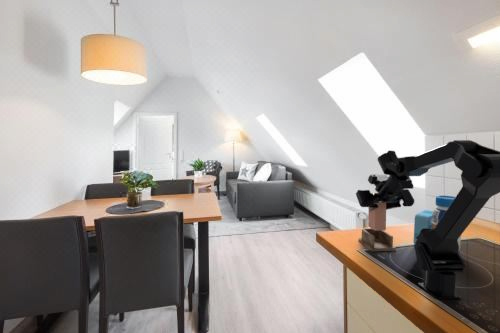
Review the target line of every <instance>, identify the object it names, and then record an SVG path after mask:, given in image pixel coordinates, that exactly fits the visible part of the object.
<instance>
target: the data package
mask: <svg viewBox="0 0 500 333" xmlns="http://www.w3.org/2000/svg"><path fill="white" fill-rule="evenodd" d="M433 212H434V210H433V211H432V210H427V209H426V210H423V211H420V212H418V213H416V214H415V215H414V225H413V226H414V227H413V245H415V243H416V241H417V239H416V237H418V235H419V234H420V231H421V230H422V229H423V228H432V224H431V222H432V219H433V216H432V214H433Z"/></svg>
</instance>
